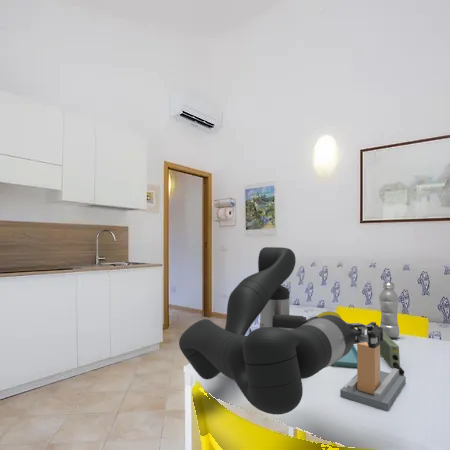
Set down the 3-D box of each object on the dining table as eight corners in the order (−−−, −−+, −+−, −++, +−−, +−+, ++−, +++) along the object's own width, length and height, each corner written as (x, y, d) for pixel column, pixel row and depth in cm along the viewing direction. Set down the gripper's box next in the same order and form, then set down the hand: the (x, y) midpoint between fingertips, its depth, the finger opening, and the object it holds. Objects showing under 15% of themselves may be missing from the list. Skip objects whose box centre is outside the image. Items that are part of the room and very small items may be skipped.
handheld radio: (382, 347, 112) (409, 377, 87) (372, 347, 112) (396, 377, 88) (381, 327, 112) (408, 352, 88) (371, 327, 113) (394, 351, 88)
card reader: (270, 372, 89) (271, 316, 90) (272, 367, 93) (273, 313, 94) (306, 376, 87) (306, 318, 87) (306, 371, 90) (306, 315, 91)
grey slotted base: (387, 411, 69) (387, 396, 70) (340, 396, 76) (340, 383, 76) (405, 383, 83) (405, 370, 84) (364, 372, 90) (364, 361, 90)
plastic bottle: (403, 340, 120) (402, 284, 121) (384, 339, 120) (383, 284, 121) (394, 335, 126) (393, 282, 127) (376, 334, 126) (375, 282, 127)
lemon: (344, 331, 131) (344, 310, 132) (344, 336, 124) (344, 314, 124) (316, 328, 135) (316, 308, 135) (314, 333, 128) (314, 312, 128)
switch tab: (374, 394, 73) (374, 347, 74) (357, 389, 75) (356, 343, 76) (380, 387, 77) (380, 342, 77) (363, 382, 79) (363, 339, 80)
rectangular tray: (365, 371, 92) (365, 362, 92) (330, 368, 94) (330, 359, 94) (349, 342, 118) (349, 335, 118) (322, 340, 119) (322, 333, 120)
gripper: (285, 353, 61) (321, 335, 74) (366, 374, 52) (391, 349, 65) (285, 312, 62) (321, 301, 74) (365, 326, 52) (391, 310, 65)
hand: (354, 323), depth 69 cm, fingers open, 7 cm apart
